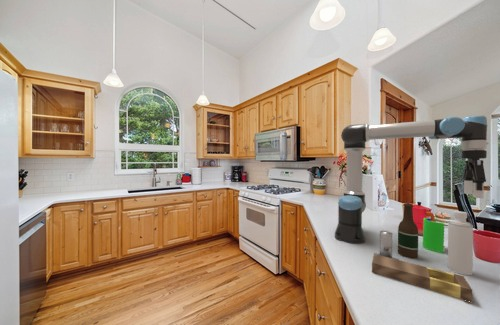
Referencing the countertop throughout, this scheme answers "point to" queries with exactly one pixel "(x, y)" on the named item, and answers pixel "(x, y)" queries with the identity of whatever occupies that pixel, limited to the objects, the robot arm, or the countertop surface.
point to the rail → (423, 277)
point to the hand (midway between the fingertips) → (473, 195)
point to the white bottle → (460, 244)
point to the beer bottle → (408, 234)
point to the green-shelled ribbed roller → (433, 234)
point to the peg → (386, 244)
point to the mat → (392, 257)
